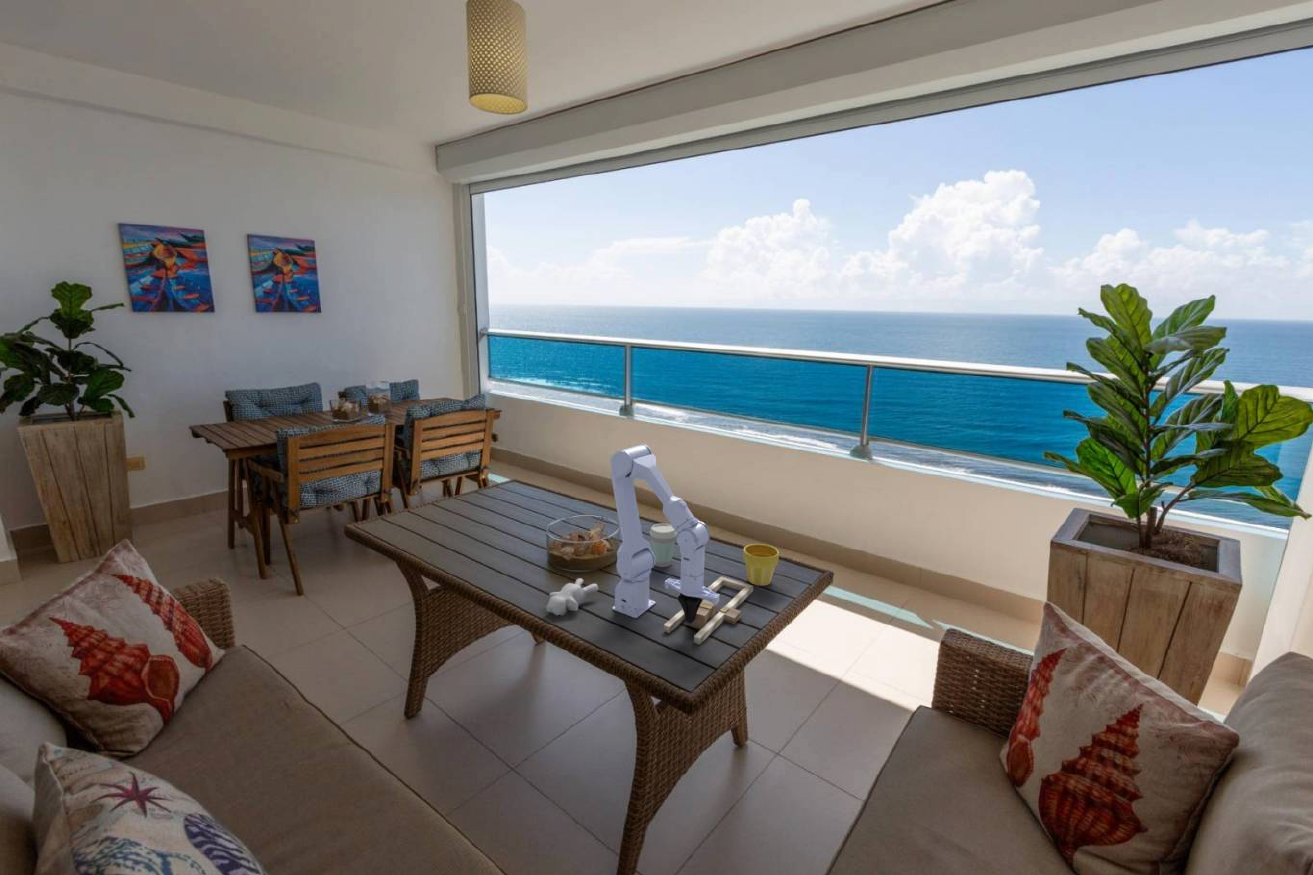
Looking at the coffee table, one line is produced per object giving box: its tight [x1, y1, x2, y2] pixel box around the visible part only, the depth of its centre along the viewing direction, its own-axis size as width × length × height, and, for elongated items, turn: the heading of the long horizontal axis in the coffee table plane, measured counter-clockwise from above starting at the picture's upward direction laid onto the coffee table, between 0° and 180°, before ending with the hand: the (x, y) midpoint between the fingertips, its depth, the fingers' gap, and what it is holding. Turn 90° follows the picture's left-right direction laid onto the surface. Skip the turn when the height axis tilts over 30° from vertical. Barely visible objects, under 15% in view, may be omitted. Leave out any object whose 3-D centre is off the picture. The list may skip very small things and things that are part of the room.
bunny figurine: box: [545, 577, 599, 617], centre depth 150 cm, size 10×5×15 cm
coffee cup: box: [649, 523, 678, 568], centre depth 175 cm, size 8×8×12 cm
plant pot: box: [742, 543, 780, 587], centre depth 165 cm, size 10×10×10 cm
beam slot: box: [663, 576, 754, 645], centre depth 148 cm, size 32×13×2 cm, turn 147°
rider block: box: [685, 599, 718, 630], centre depth 143 cm, size 8×5×4 cm, turn 152°
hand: (690, 621), depth 139 cm, fingers closed
